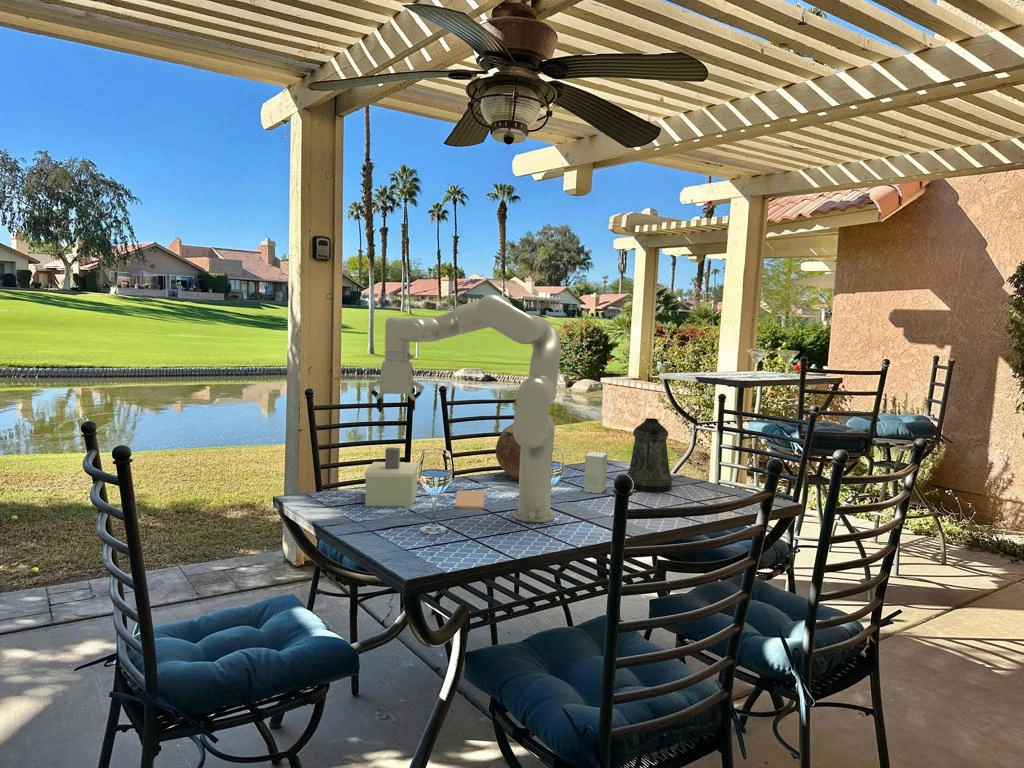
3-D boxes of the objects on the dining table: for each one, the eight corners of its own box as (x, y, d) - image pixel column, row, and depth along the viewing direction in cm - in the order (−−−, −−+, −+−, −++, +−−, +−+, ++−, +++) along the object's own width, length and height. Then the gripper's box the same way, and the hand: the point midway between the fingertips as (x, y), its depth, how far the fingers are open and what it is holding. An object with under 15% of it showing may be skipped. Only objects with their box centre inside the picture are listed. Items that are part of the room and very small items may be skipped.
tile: (483, 509, 210) (483, 506, 210) (425, 508, 209) (425, 505, 209) (483, 493, 230) (483, 490, 230) (430, 492, 229) (430, 490, 229)
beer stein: (654, 481, 257) (657, 415, 254) (686, 493, 239) (690, 422, 237) (616, 483, 250) (619, 416, 248) (646, 496, 232) (649, 423, 230)
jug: (484, 475, 257) (486, 397, 255) (529, 470, 270) (531, 395, 267) (517, 487, 239) (520, 403, 237) (564, 481, 252) (567, 400, 250)
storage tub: (411, 509, 207) (412, 477, 206) (365, 508, 207) (365, 476, 206) (416, 496, 223) (417, 466, 222) (373, 495, 222) (374, 465, 222)
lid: (412, 480, 206) (413, 454, 205) (364, 479, 205) (364, 453, 205) (418, 469, 223) (418, 444, 222) (373, 468, 222) (373, 443, 221)
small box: (589, 487, 243) (590, 451, 242) (606, 489, 241) (607, 452, 240) (583, 492, 236) (584, 455, 235) (601, 494, 234) (602, 456, 233)
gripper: (426, 357, 215) (424, 411, 217) (371, 356, 215) (370, 409, 216) (423, 359, 208) (422, 414, 209) (366, 357, 207) (365, 412, 209)
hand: (395, 412), depth 213 cm, fingers open, 9 cm apart
